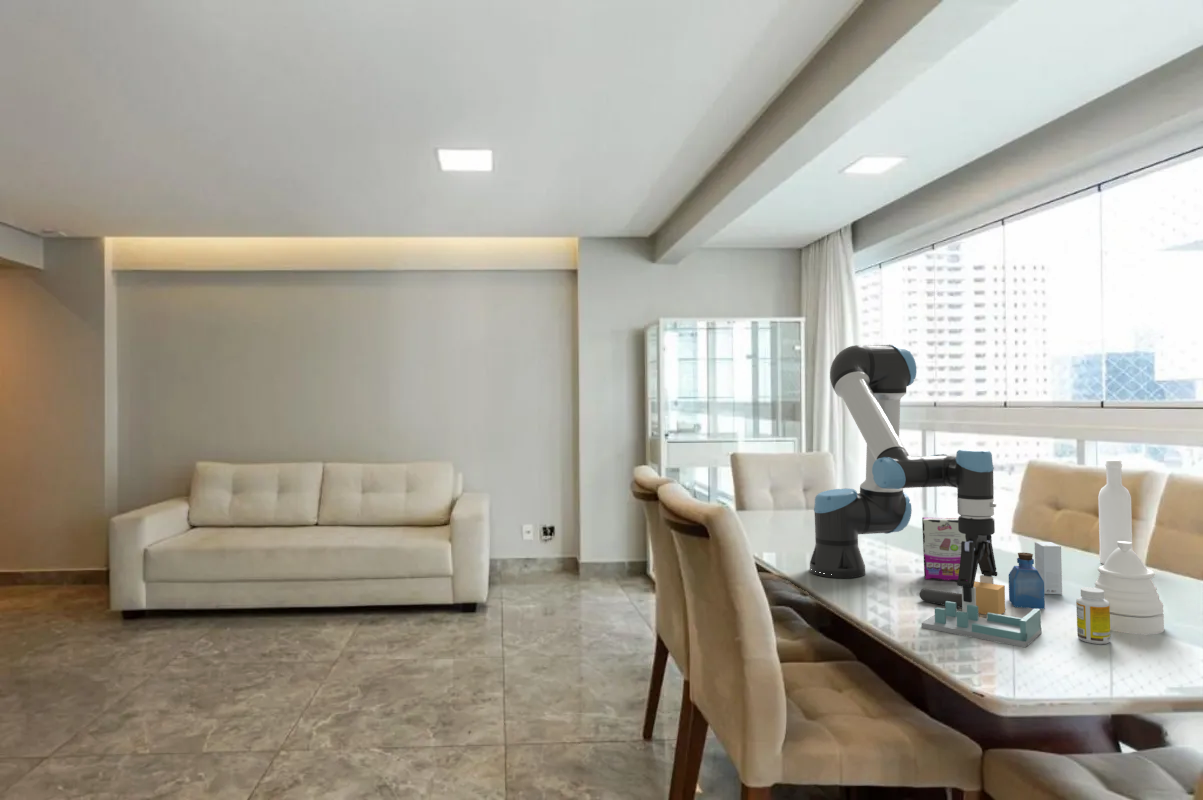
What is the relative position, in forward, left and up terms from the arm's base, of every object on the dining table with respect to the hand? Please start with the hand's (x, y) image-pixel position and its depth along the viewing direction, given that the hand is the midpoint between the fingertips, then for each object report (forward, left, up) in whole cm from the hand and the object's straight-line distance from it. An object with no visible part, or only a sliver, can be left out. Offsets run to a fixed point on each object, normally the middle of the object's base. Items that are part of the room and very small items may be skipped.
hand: (978, 609), depth 170 cm
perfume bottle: (+7, +12, 0) cm, 14 cm away
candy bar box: (-16, +26, 0) cm, 31 cm away
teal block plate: (+5, -15, 0) cm, 16 cm away
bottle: (+15, +73, 0) cm, 75 cm away
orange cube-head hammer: (-4, 0, 0) cm, 4 cm away
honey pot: (+27, +8, 0) cm, 28 cm away
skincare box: (+8, +28, 0) cm, 29 cm away
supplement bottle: (+24, -8, 0) cm, 25 cm away
